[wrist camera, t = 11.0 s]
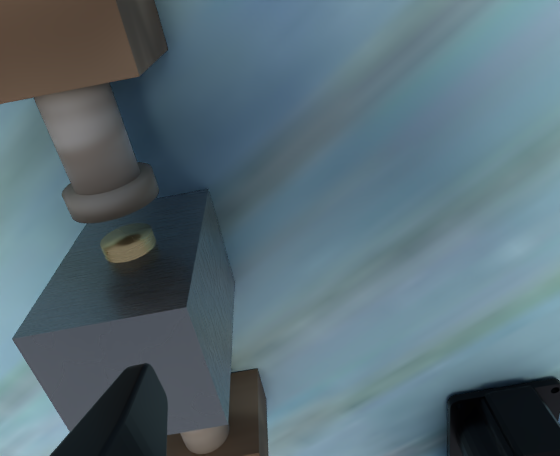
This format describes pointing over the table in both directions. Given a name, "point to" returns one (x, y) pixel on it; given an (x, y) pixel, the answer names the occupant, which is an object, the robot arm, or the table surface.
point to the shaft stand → (107, 145)
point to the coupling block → (139, 313)
